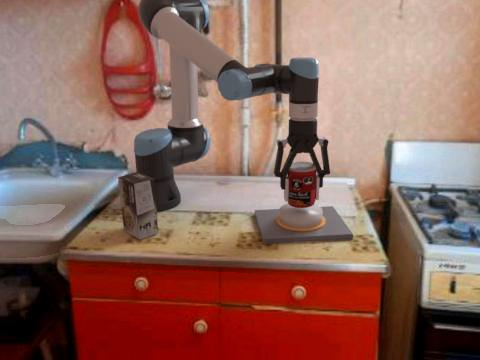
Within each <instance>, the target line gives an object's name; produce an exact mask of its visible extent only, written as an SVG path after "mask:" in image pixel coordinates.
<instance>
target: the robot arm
mask: <svg viewBox="0 0 480 360" xmlns="http://www.w3.org/2000/svg"><path fill="white" fill-rule="evenodd" d="M137 9H138V10H137V12H138V18H139V21H140V24H141V25H142V27H143V28H144V29H145V30H146V31H147V33H148V34H150V35H151V36H153V38H155V39H156V40H163V41H164V42H166V43H167V44H168V45H169V67H170V68H169V69H170V97H171V99H170V100H171V119H169V121H167V128H164V127H157V128H150V129H146V130H143V131H141V132H140V133H137V135H136V136H135V137H134V138H133V152H134V159H135V171H136V172H139V173H141V174H144V175H146V176H149V177H151V178H154V185H155V197H156V210H157V212H158V211H159V212H160V211H166V210H170V209H174V208H176V207H178V206H179V205H180V204H181V202H182V199H181V198H182V197H181V193H180V190H179V188H178V185H177V182H176V180H175V174H174V172H175V171H174V168H176V167H179V166H183V165H186V164H189V163H193V162H197V161H199V160H200V159H202V158H204V157H205V156H206V155H207V154H208V152H209V150H210V148H211V135H210V133H208V131H209V130H208V129H207V128H206V126H204V122H203V121H202V120H201V119H200V118H199V86H198V83H199V82H198V80H199V79H198V77H199V75H198V74H199V73H198V68H199V70H201V71H202V72H204V73H205V74H206V75H207V76H209V78H211V79H212V80H214V81H215V82H216V83H217V89H218V91H219V93H220V96H221V97H222V98H223V99H225V100H226V101H243V100H245V99H249V98H250V99H251V98H255V97H258V96H264V95H269V94H283V95H288V117H289V119H288V133H287V134H288V135H287V137H286V139H277V140H276V145H277V151H276V156H275V162H274V163H275V164H274V169H273V174H274V176H275V178H280V181H279V182H280V183H279V184H280V185H279V187H280V189H281V190H283V199H284V201H285V202H286V203H288V189H289V179H288V172H289V168H290V167H291V165H292V163H294V161H295V158H296V157H297V155H298V154H302V153H304V154H308V155H309V156H310V159H311V163H313V164H314V165H315V166H316V195H315V201H319V200H320V188H323V186H324V177H325V176H327V175H330V174H331V168H330V162H329V161H330V160H329V154H328V146H329V142H330V141H329V140H328V139H327V138H326V137H319V136H318V119H317V117H318V116H319V115H318V113H319V111H318V109H319V108H318V106H319V104H318V103H319V102H318V101H319V79H320V70H319V69H320V66H319V60H318V59H317V58H315V57H294V58H290V60H289V63H288V65H287V64H286V65H285V64H275V63H274V64H272V63H258V64H255V65H254V66H251V67H248V66H245V65H243V64H242V63H241V62H239V61H238V60H236V59H235V58H234V57H233V56H231V55H230V54H228V52H226V51H225V50H224V49H222V48H221V47H219V46H218V45H217V44H215V43H214V42H213V41H211V40H210V39H209V38H208V37H206V36H205V35H204V34H203V30H204V28H206V27H207V24H208V23H209V20H210V7H209V5H208V2H207V0H140V2H139V4H138V8H137ZM317 144H318V145H319V146H320V153H321V159H322V167H321V164H320V162H319V160H318V157H317V155H316V152H315V146H317ZM287 145H289V147H290V150H289V152H288V156H287V158H286V160H285V161H284V164H283V163H282V162H283V157H284V152H285V150H284V149H285V148H286V146H287ZM282 164H283V167H282ZM281 167H282V169H281ZM322 168H323V169H322Z"/></svg>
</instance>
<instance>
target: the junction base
mask: <svg viewBox="0 0 480 360" xmlns="http://www.w3.org/2000/svg"><path fill="white" fill-rule="evenodd" d="M253 211H254V212H253V213H254V214H253V215H254V218H255V221H256V225H257V228H258V231H259V234H260V238H261V242H262V244H263V245H269V244H270V245H271V244H289V243H306V242H310V243H311V242H320V241H321V242H322V241H323V242H324V241H327V242H328V241H341V240H342V241H343V240H345V241H346V240H353V239H354V233H353V232H352V231H351V229H350V227H348V225H347V224H346V222H345V220H343V218H342V216H340V214H339V213H338V211H337V210H336V208H335V207H334V206H333V205H331V206H329V205H328V206H319V205H318V204H315V203H314V205H313V206H311V207H307V208H296V207H292V206H290V205H289V204H288V203H285V204H283V205H281V206H279V208H270V209H254V210H253Z"/></svg>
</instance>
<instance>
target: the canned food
mask: <svg viewBox="0 0 480 360" xmlns="http://www.w3.org/2000/svg"><path fill="white" fill-rule="evenodd" d="M316 175H317V171H316V166H315V165H314V164H313V162H309V161H296V162H295V161H293V163H292V165H291V167H290V168H289V172H288V174H287V177H288V179H289V189H288V202H287V204H289V205H290V206H292V207H296V208H307V207H311V206H313V205H314V204H315V203H316V199H315V195H316Z"/></svg>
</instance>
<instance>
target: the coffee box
mask: <svg viewBox="0 0 480 360" xmlns="http://www.w3.org/2000/svg"><path fill="white" fill-rule="evenodd" d="M117 181H118V189H119V199H120V207H121V215H122V225H123V231H125V232H126V233H128V234H129V235H131V236H133V237H135V238H136V239H138V240H143V239H145V238H148V237H152V236H154V235H155V236H156V235H157V234H159V225H158V224H159V223H158V214H157V212H158V211H157V210H156V197H155V185H154V178H151V177H149V176H146V175H144V174H141V173H139V172H131V173H128V174H125V175H121V176H118V177H117Z"/></svg>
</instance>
